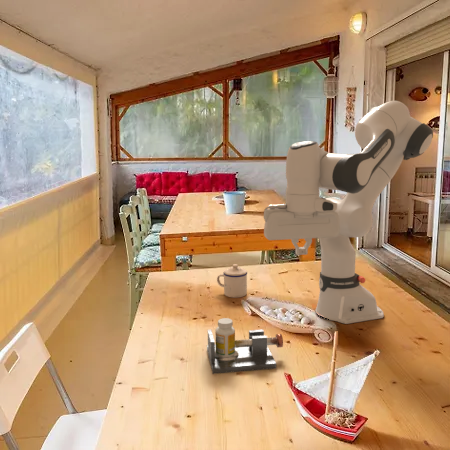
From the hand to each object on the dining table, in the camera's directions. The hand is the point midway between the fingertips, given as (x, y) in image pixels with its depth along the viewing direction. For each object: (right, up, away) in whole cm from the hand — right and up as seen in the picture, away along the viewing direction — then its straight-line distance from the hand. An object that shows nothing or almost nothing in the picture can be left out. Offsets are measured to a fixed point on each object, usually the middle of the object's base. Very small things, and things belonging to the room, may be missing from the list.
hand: (301, 254), depth 133 cm
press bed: (-16, -29, +4) cm, 34 cm away
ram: (-11, -26, +4) cm, 29 cm away
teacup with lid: (-18, -19, +56) cm, 62 cm away
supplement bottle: (-21, -28, +3) cm, 35 cm away
